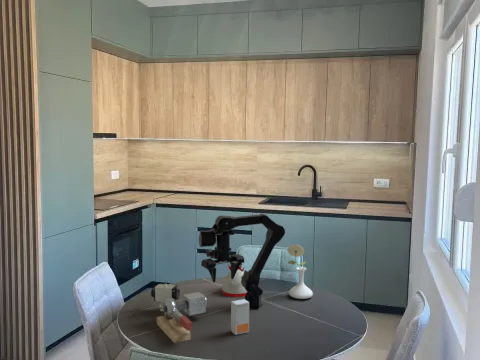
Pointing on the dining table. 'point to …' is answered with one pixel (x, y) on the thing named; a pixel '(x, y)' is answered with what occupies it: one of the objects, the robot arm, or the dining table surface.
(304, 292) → the flower in vase
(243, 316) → the skincare box
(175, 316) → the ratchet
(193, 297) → the cube on metal disc
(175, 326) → the oak cradle
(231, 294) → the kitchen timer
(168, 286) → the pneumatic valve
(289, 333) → the dining table surface
